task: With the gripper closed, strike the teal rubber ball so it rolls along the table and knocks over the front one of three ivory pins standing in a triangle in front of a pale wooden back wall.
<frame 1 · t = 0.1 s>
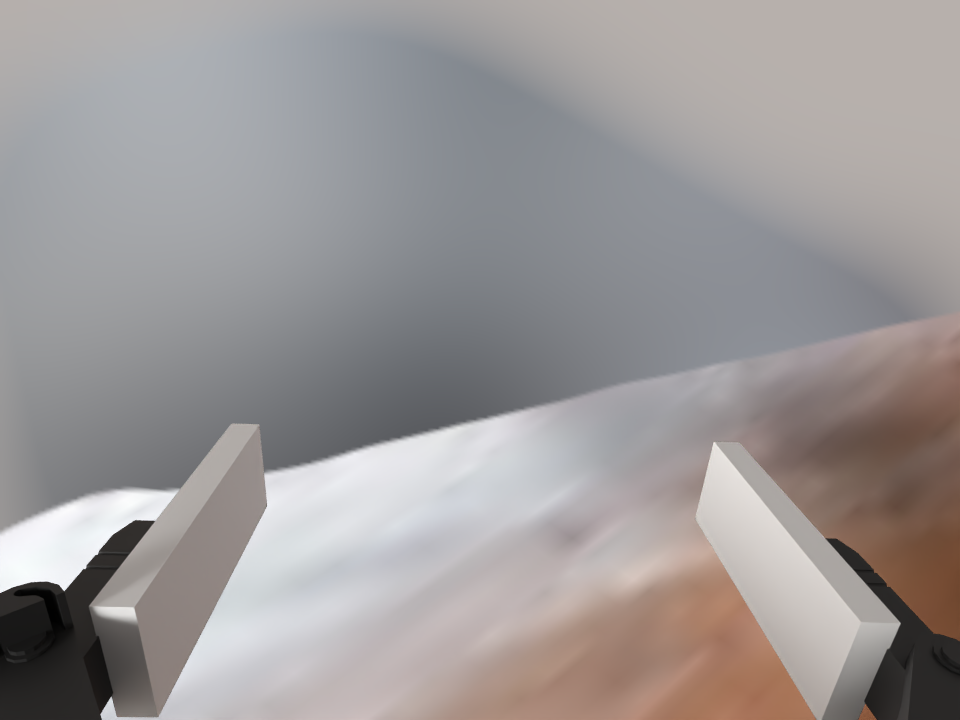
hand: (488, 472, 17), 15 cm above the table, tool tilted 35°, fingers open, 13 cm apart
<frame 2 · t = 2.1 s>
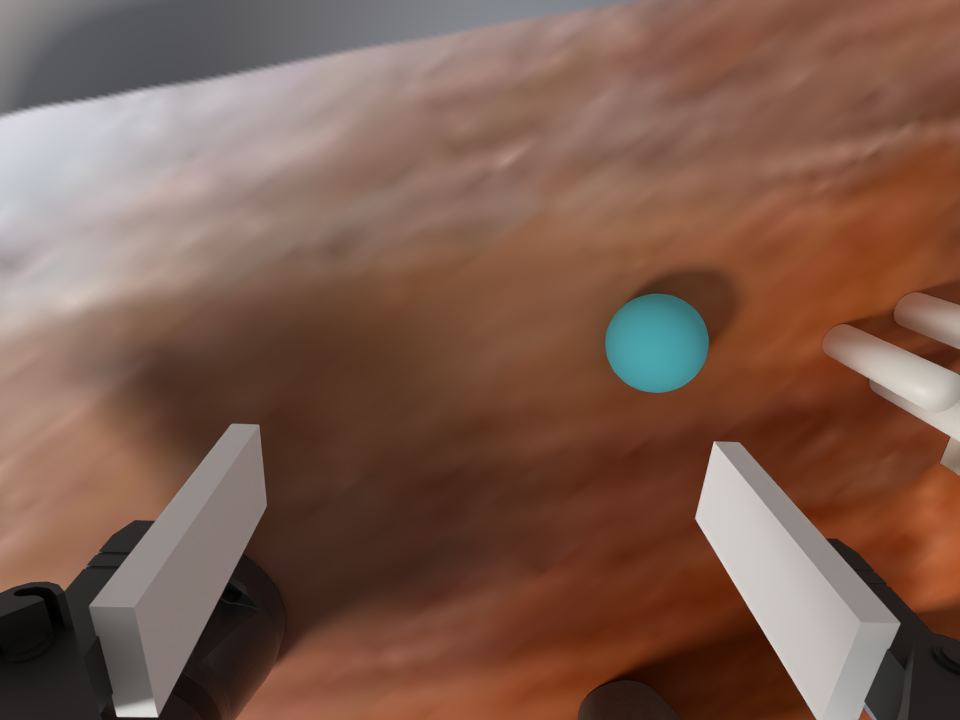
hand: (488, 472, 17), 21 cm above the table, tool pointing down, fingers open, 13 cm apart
pin 1: (886, 378, 40), on the table
ball: (655, 343, 35), on the table
pin 2: (911, 309, 38), on the table
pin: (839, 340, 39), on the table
plant pot: (620, 707, 50), on the table
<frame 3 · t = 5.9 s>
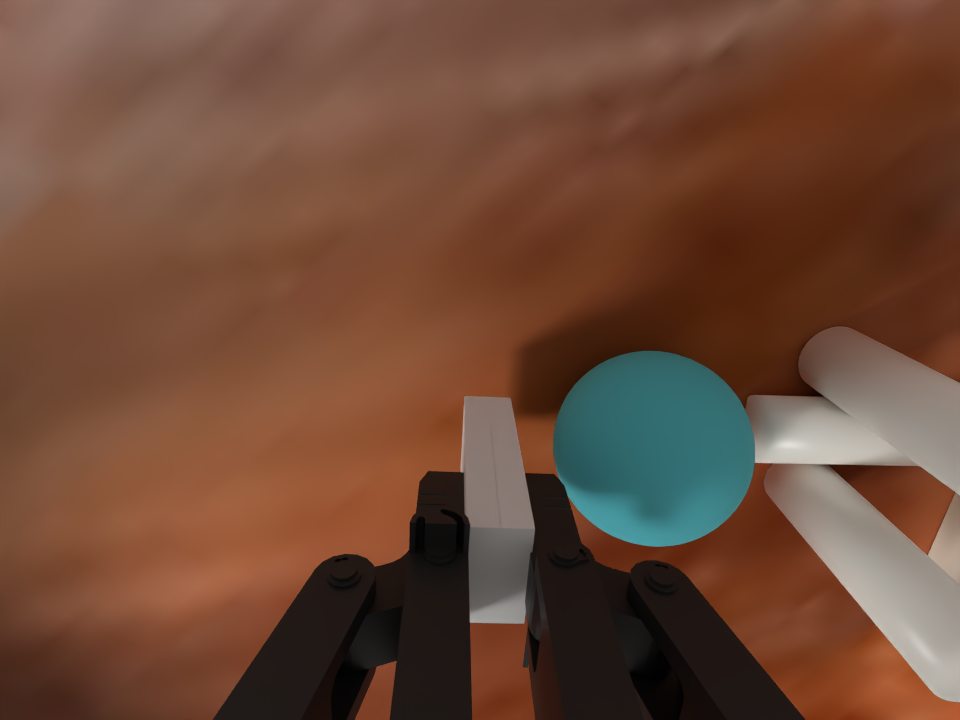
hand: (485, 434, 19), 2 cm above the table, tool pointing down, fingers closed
pin 1: (794, 478, 22), on the table
ball: (649, 446, 18), on the table
pin 2: (831, 358, 20), on the table
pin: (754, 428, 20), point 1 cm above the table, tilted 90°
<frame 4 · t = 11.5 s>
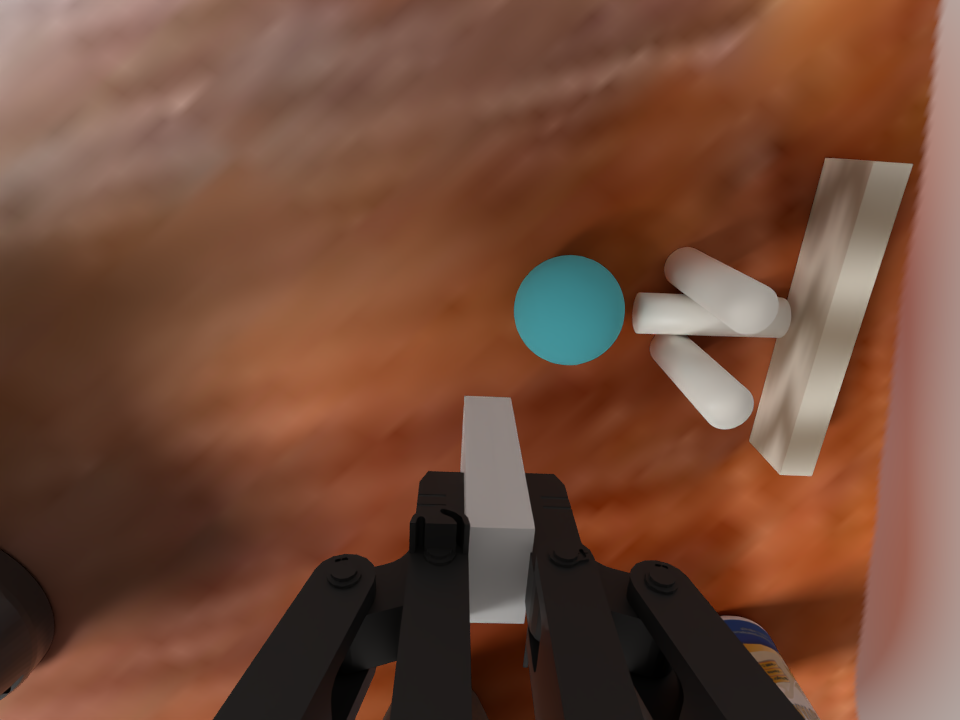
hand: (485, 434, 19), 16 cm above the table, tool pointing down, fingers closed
pin 1: (668, 346, 36), on the table
beverage bottle: (716, 648, 46), on the table
ball: (568, 310, 31), on the table
pin 2: (684, 267, 34), on the table
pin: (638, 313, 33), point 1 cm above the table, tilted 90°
plant pot: (438, 705, 47), on the table
back wall: (799, 313, 35), on the table
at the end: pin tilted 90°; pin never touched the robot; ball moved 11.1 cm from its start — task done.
